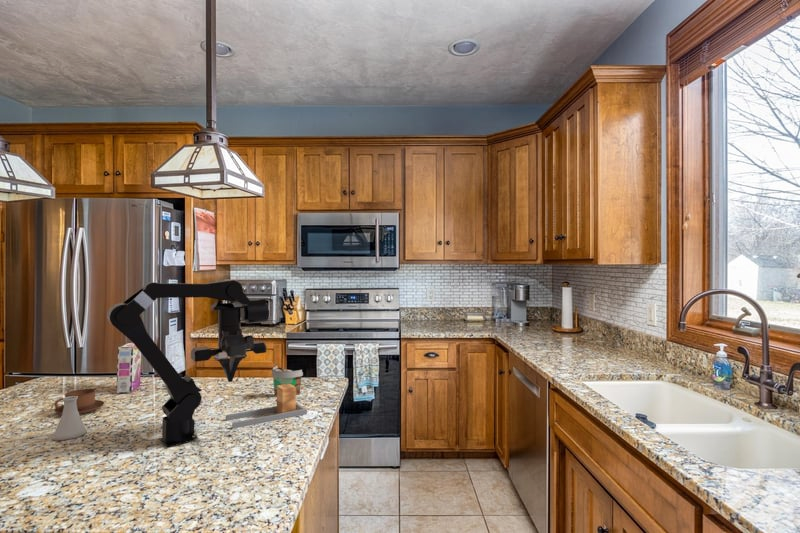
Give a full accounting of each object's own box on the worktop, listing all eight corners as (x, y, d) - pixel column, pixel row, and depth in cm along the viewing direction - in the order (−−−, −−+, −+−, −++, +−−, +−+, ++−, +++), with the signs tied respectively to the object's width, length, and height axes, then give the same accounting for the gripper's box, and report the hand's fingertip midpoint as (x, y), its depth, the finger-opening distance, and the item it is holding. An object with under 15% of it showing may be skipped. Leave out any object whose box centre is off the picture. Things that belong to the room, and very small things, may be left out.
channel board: (233, 434, 111) (233, 423, 111) (225, 424, 118) (225, 414, 119) (307, 419, 123) (307, 409, 123) (296, 411, 131) (296, 402, 131)
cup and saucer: (72, 421, 120) (73, 399, 121) (45, 416, 124) (45, 395, 125) (113, 408, 132) (113, 388, 132) (86, 404, 136) (87, 385, 136)
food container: (262, 398, 144) (263, 369, 144) (275, 393, 149) (276, 365, 149) (290, 403, 138) (290, 373, 138) (302, 398, 143) (303, 369, 144)
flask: (45, 442, 105) (46, 402, 105) (60, 432, 112) (61, 394, 112) (79, 439, 107) (79, 400, 107) (91, 429, 114) (92, 392, 114)
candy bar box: (132, 393, 148) (133, 347, 148) (115, 394, 146) (116, 347, 147) (141, 385, 158) (142, 342, 159) (126, 386, 157) (127, 342, 157)
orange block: (282, 417, 121) (282, 389, 121) (276, 412, 125) (276, 385, 125) (295, 414, 123) (295, 387, 123) (289, 409, 127) (289, 383, 127)
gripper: (199, 332, 103) (199, 395, 103) (273, 325, 114) (273, 381, 114) (190, 327, 112) (190, 385, 112) (259, 321, 123) (260, 374, 123)
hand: (230, 381), depth 115 cm, fingers closed
